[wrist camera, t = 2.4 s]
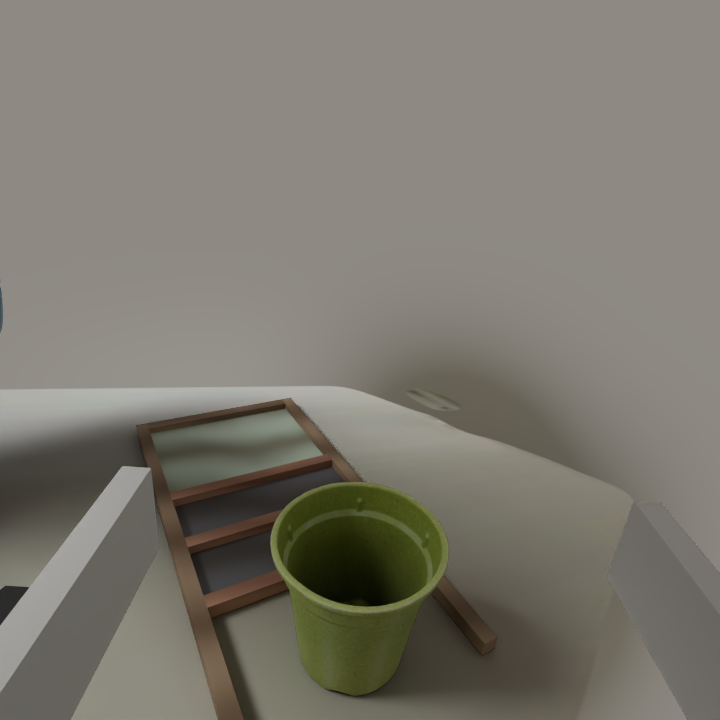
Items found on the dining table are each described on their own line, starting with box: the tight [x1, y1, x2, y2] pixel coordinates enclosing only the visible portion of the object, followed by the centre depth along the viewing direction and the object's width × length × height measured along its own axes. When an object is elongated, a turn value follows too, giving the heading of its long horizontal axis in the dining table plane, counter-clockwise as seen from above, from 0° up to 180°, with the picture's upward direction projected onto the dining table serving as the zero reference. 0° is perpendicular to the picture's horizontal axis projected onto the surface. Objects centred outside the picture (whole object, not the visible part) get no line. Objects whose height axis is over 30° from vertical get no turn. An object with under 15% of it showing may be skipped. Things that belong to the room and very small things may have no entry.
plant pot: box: [270, 482, 449, 696], centre depth 28 cm, size 9×9×9 cm
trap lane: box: [136, 398, 497, 720], centre depth 40 cm, size 33×16×1 cm, turn 29°
